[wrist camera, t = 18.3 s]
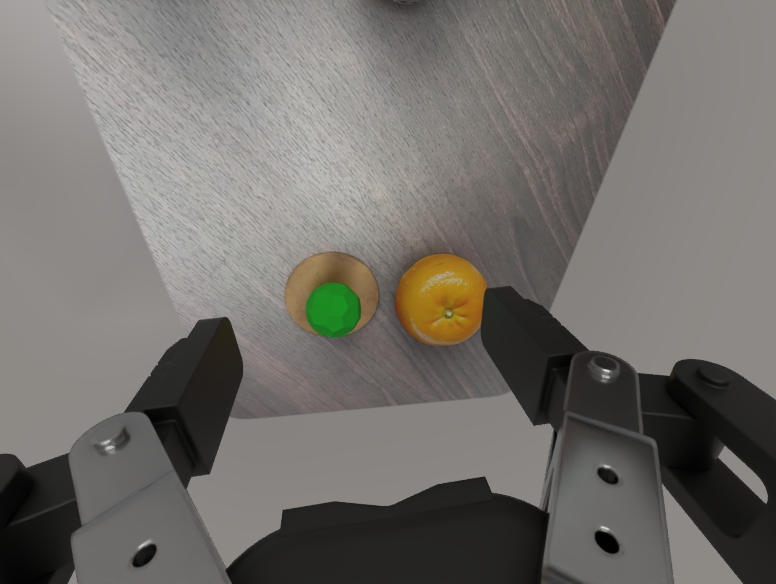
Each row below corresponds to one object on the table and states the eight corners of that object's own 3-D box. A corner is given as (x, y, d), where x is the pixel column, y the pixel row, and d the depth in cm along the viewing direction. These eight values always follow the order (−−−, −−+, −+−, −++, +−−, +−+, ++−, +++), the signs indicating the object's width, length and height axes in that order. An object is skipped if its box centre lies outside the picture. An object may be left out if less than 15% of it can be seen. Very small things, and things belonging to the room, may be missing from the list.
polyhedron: (304, 316, 34) (301, 345, 30) (309, 271, 32) (307, 294, 28) (355, 321, 35) (358, 349, 31) (363, 277, 33) (368, 301, 29)
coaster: (375, 248, 33) (376, 250, 32) (380, 328, 37) (381, 331, 36) (277, 256, 32) (276, 259, 31) (293, 338, 36) (292, 342, 35)
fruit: (461, 225, 29) (470, 311, 25) (496, 271, 35) (508, 346, 31) (379, 257, 33) (376, 334, 30) (423, 293, 40) (425, 361, 36)
